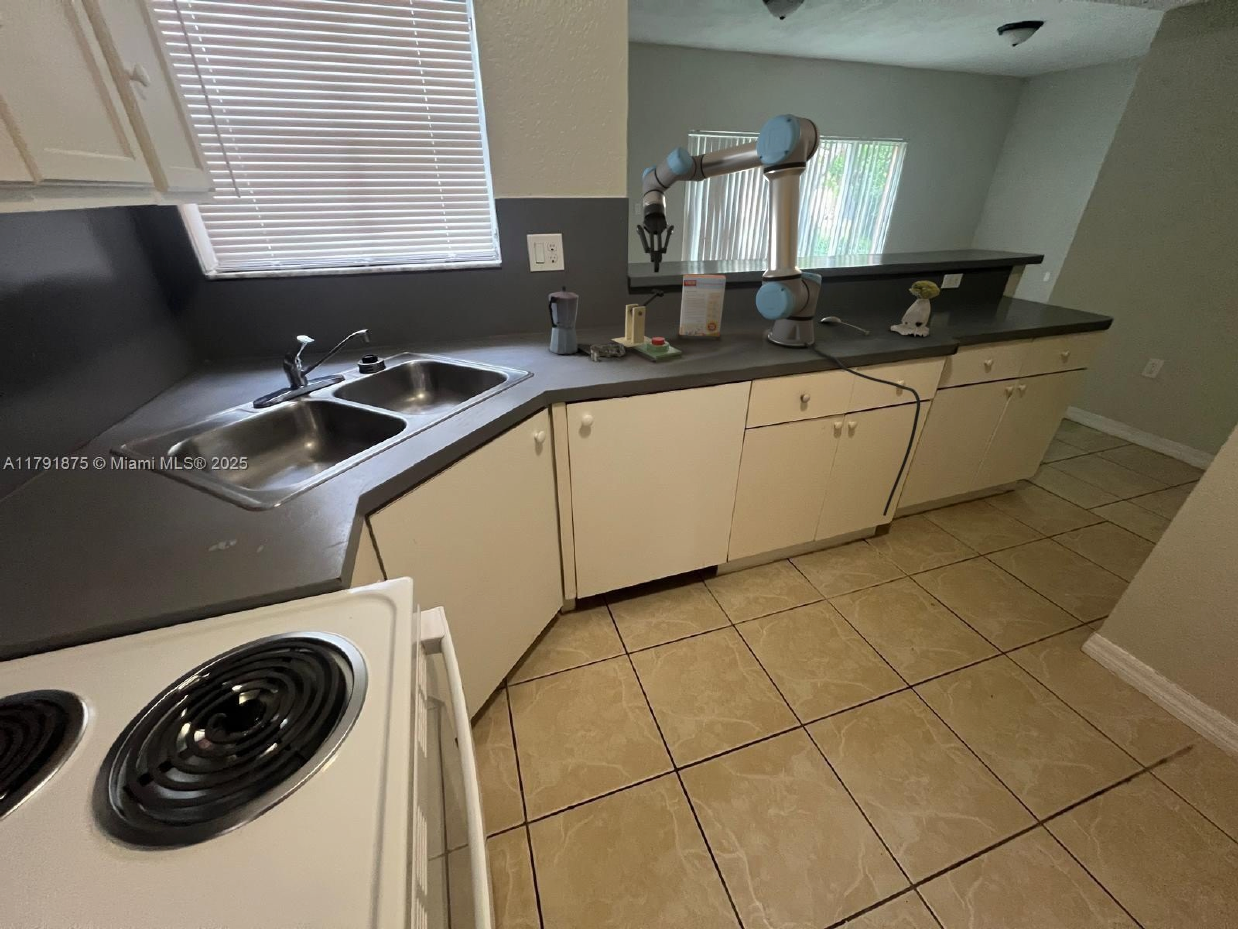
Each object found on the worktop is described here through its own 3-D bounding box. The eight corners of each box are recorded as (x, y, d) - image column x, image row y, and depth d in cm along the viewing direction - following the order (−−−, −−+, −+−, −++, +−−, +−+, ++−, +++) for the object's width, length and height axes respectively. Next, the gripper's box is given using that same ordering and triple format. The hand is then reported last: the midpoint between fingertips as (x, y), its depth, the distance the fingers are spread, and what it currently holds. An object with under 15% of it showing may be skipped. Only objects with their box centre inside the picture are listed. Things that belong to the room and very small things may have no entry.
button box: (681, 358, 153) (682, 345, 151) (655, 363, 148) (656, 350, 146) (658, 347, 161) (659, 336, 159) (633, 352, 157) (634, 340, 155)
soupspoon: (829, 322, 197) (816, 324, 195) (830, 313, 196) (817, 315, 193) (873, 334, 180) (860, 336, 177) (875, 325, 178) (862, 327, 176)
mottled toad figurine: (590, 361, 148) (590, 348, 146) (590, 354, 155) (589, 341, 153) (625, 361, 149) (625, 348, 147) (623, 353, 155) (623, 341, 153)
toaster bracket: (640, 338, 170) (642, 300, 164) (657, 345, 163) (659, 307, 157) (611, 343, 165) (611, 304, 158) (627, 351, 158) (628, 311, 151)
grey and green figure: (908, 326, 191) (924, 277, 181) (936, 335, 180) (954, 283, 171) (884, 328, 187) (899, 278, 178) (911, 337, 177) (928, 284, 168)
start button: (666, 344, 152) (667, 339, 151) (656, 346, 150) (656, 341, 150) (659, 341, 155) (659, 336, 154) (649, 343, 153) (649, 337, 152)
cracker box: (717, 335, 175) (725, 274, 164) (719, 340, 170) (726, 277, 159) (678, 334, 176) (683, 272, 165) (678, 338, 171) (684, 276, 160)
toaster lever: (655, 293, 163) (653, 287, 161) (664, 296, 159) (662, 290, 157) (629, 315, 161) (626, 309, 159) (638, 318, 157) (635, 312, 156)
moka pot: (586, 346, 161) (585, 283, 151) (567, 360, 149) (565, 292, 138) (560, 343, 164) (558, 281, 154) (539, 356, 151) (535, 290, 141)
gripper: (671, 218, 171) (674, 277, 165) (634, 217, 170) (636, 276, 164) (674, 202, 163) (678, 262, 158) (636, 201, 163) (638, 262, 157)
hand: (656, 269), depth 161 cm, fingers closed
